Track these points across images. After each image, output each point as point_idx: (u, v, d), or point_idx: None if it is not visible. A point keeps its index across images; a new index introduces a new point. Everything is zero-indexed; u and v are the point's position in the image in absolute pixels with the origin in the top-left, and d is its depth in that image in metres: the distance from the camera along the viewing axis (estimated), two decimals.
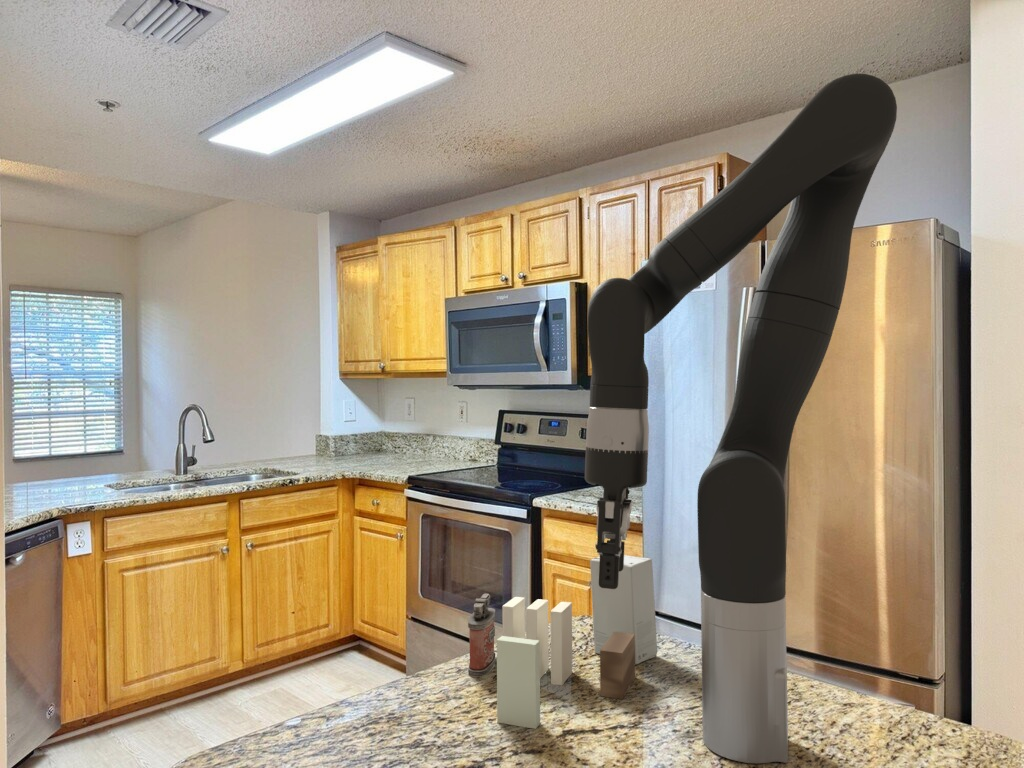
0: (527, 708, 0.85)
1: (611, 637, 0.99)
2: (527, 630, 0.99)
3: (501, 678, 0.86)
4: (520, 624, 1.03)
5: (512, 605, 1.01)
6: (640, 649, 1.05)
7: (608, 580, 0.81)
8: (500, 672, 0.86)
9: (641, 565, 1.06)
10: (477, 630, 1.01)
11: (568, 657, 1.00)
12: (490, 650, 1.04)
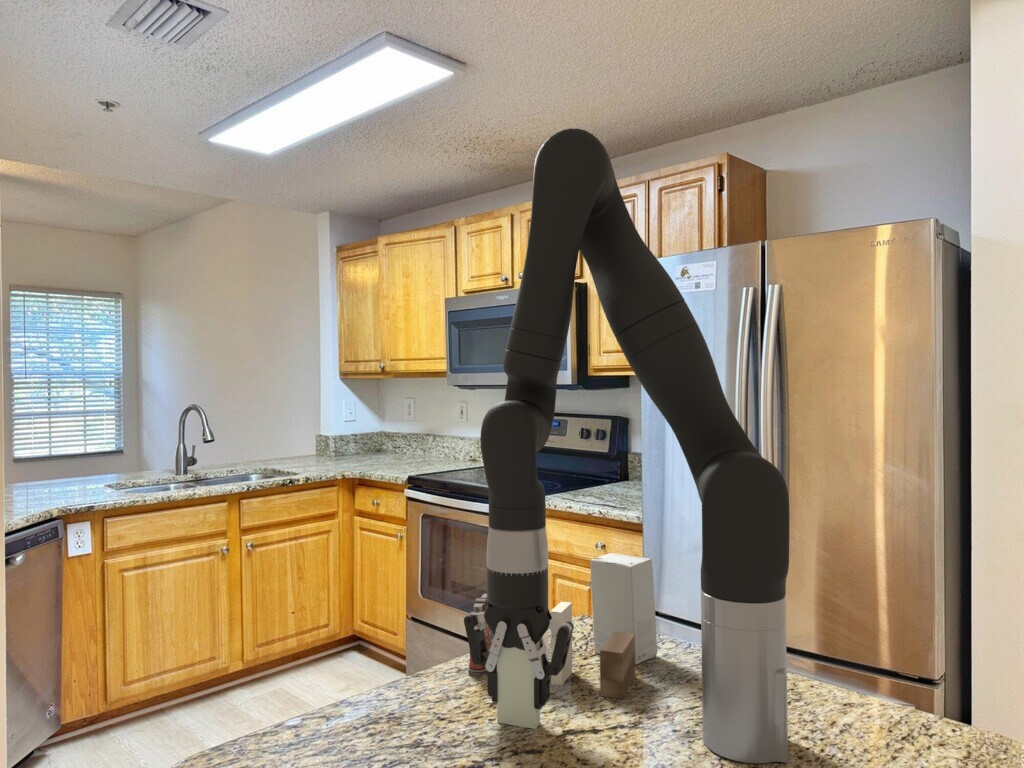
0: (527, 708, 0.85)
1: (611, 637, 0.99)
2: None
3: (501, 678, 0.86)
4: None
5: None
6: (640, 649, 1.05)
7: (547, 698, 0.85)
8: (500, 672, 0.86)
9: (641, 565, 1.06)
10: None
11: (568, 657, 1.00)
12: None
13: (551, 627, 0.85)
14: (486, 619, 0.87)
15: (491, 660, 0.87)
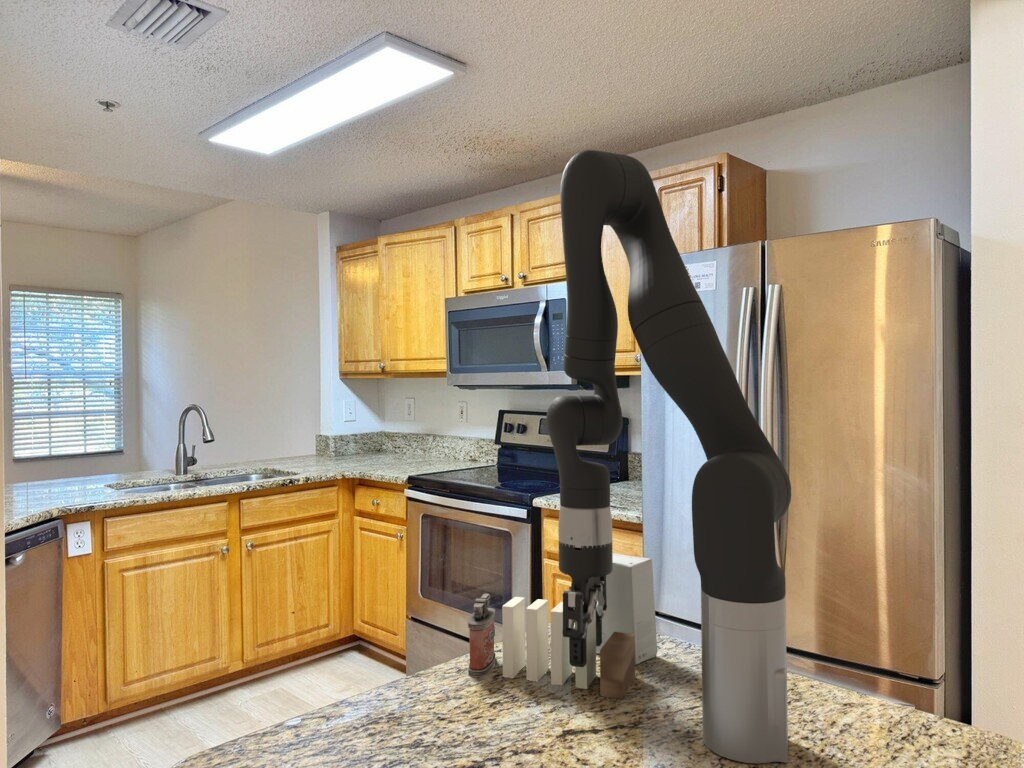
0: (594, 662, 1.00)
1: (611, 637, 0.99)
2: (527, 630, 0.99)
3: (587, 647, 0.97)
4: (520, 624, 1.03)
5: (512, 605, 1.01)
6: (640, 649, 1.05)
7: None
8: (587, 642, 0.97)
9: (641, 565, 1.06)
10: (477, 630, 1.01)
11: (568, 657, 1.00)
12: (490, 650, 1.04)
13: None
14: (585, 594, 0.95)
15: (585, 628, 0.94)
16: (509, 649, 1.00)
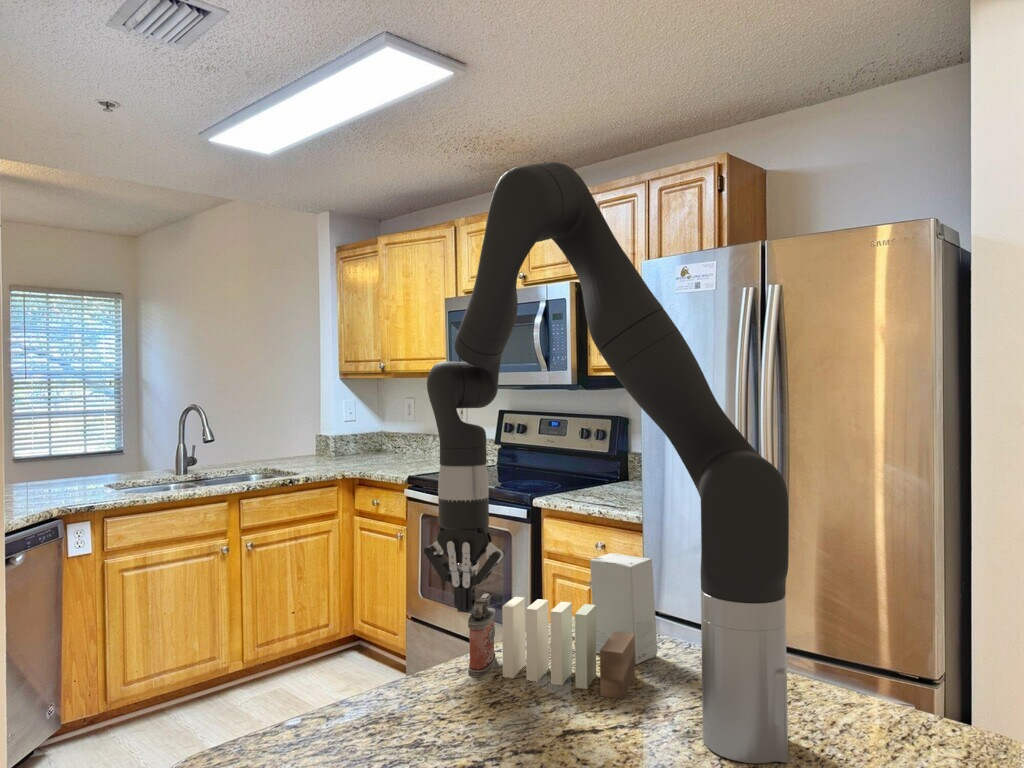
0: (594, 662, 1.00)
1: (611, 637, 0.99)
2: (527, 630, 0.99)
3: (587, 647, 0.97)
4: (520, 624, 1.03)
5: (512, 605, 1.01)
6: (640, 649, 1.05)
7: (472, 604, 1.05)
8: (587, 642, 0.97)
9: (641, 565, 1.06)
10: (477, 630, 1.01)
11: (568, 657, 1.00)
12: (490, 650, 1.04)
13: (488, 548, 1.04)
14: (439, 542, 1.06)
15: (457, 577, 1.05)
16: (509, 649, 1.00)
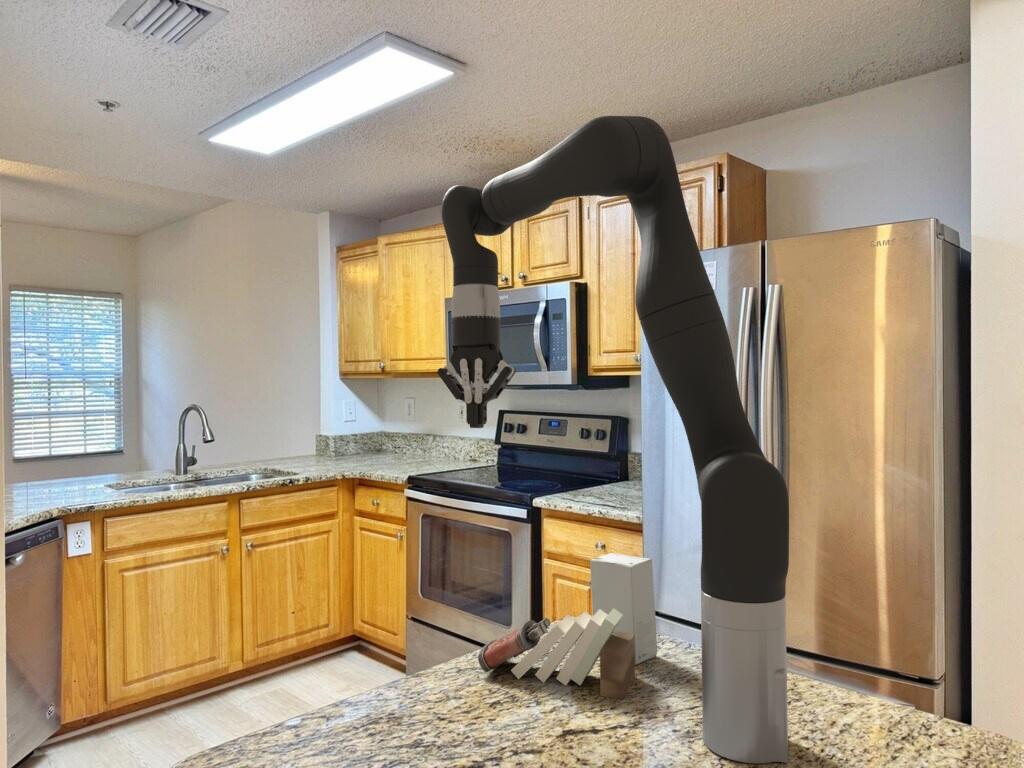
0: (595, 661, 1.00)
1: (611, 637, 0.99)
2: (563, 638, 0.97)
3: (599, 652, 0.96)
4: None
5: (565, 631, 0.98)
6: (640, 649, 1.05)
7: (484, 420, 1.09)
8: None
9: (641, 565, 1.06)
10: (519, 646, 0.99)
11: None
12: None
13: (499, 365, 1.08)
14: (452, 362, 1.10)
15: (469, 394, 1.09)
16: (533, 658, 0.99)
